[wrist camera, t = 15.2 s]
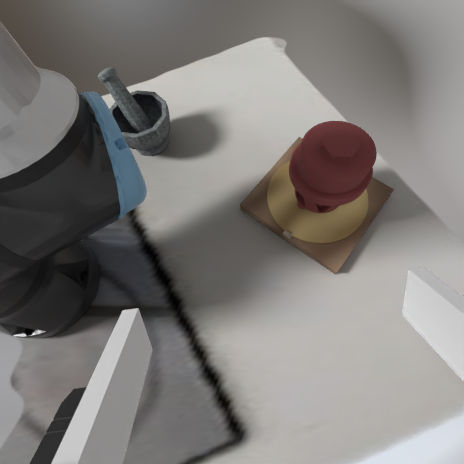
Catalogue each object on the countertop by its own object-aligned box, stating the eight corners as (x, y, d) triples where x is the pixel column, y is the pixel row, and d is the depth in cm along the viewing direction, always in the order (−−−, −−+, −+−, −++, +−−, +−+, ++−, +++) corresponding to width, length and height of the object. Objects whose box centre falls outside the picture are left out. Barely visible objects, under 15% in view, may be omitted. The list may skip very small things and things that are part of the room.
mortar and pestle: (188, 142, 49) (169, 84, 38) (147, 173, 47) (115, 122, 36) (151, 109, 53) (124, 47, 42) (111, 138, 51) (72, 81, 40)
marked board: (240, 209, 44) (239, 204, 42) (297, 142, 48) (299, 135, 46) (334, 274, 39) (338, 271, 37) (389, 194, 43) (394, 188, 41)
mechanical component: (364, 208, 40) (306, 239, 39) (325, 159, 44) (271, 186, 43) (409, 156, 29) (328, 197, 28) (351, 95, 32) (278, 129, 31)
